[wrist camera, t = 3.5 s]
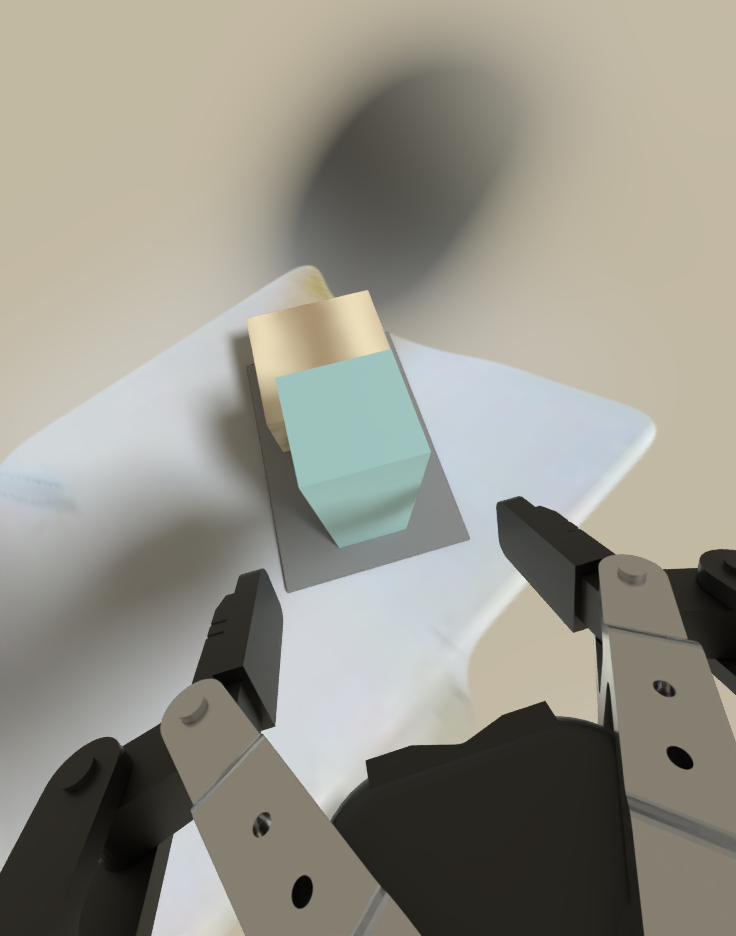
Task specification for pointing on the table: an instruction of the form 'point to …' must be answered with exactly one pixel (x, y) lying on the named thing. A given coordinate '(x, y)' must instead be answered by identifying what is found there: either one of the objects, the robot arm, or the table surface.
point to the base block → (310, 345)
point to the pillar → (355, 445)
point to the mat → (309, 542)
